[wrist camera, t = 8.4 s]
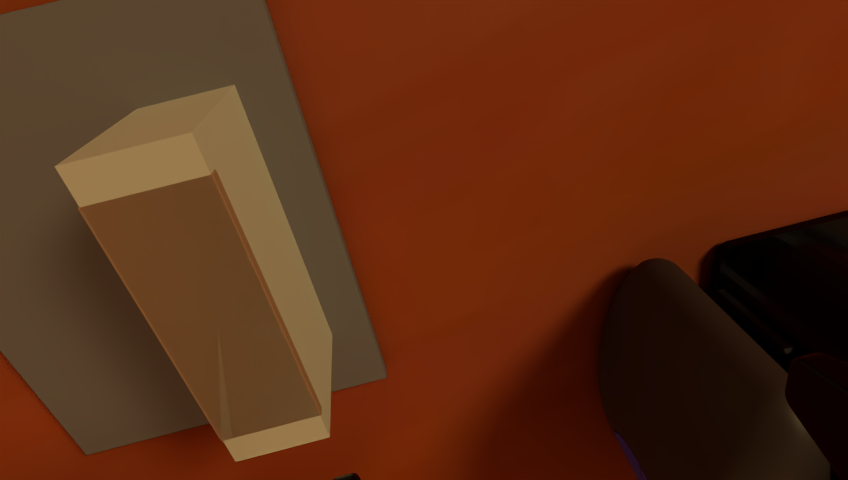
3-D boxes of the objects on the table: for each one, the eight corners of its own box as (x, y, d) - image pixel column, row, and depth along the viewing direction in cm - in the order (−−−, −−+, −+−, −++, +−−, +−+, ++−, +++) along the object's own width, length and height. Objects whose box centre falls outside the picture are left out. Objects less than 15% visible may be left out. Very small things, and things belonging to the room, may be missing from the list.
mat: (250, -44, 14) (247, -44, 14) (385, 367, 22) (386, 377, 22) (-211, 65, 14) (-232, 69, 13) (92, 443, 22) (86, 454, 21)
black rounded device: (555, 279, 21) (674, 480, 13) (660, 236, 21) (854, 417, 13) (631, 492, 29) (736, 703, 21) (709, 465, 29) (848, 669, 20)
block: (236, 84, 15) (193, 131, 11) (333, 335, 20) (331, 436, 16) (135, 109, 15) (52, 167, 11) (257, 354, 20) (234, 462, 16)
